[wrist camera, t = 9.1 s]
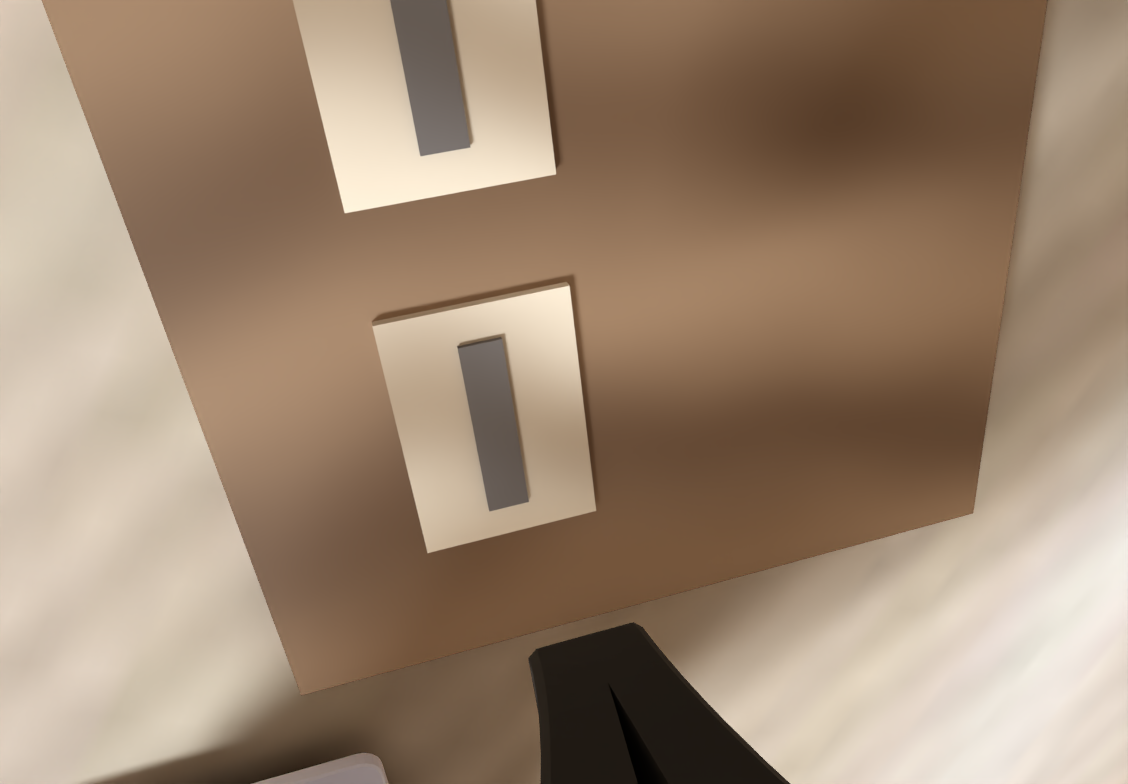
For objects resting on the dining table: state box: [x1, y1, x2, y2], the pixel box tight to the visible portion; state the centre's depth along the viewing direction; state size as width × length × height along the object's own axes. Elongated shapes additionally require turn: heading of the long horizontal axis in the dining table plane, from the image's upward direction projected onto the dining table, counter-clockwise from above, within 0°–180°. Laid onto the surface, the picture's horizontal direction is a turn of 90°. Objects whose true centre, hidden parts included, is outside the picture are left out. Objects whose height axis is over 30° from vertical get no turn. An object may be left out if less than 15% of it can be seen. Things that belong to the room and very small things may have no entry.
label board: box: [42, 0, 1048, 696], centre depth 15 cm, size 20×16×2 cm
